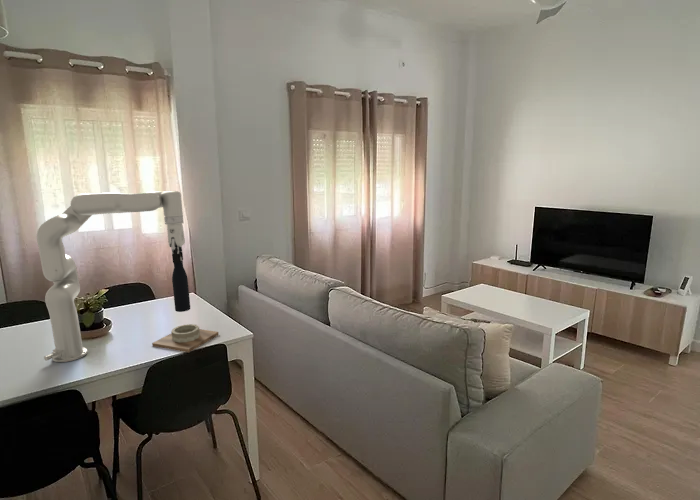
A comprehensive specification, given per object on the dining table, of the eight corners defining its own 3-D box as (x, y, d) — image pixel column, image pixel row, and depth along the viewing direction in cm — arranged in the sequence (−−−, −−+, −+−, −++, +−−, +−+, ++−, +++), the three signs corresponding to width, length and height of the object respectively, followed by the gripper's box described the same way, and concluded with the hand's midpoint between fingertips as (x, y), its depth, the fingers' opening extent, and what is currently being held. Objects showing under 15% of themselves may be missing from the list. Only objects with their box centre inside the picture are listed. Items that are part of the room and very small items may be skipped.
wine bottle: (187, 311, 191) (180, 245, 185) (172, 312, 191) (165, 245, 185) (192, 307, 198) (186, 242, 191) (178, 307, 198) (172, 242, 192)
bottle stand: (188, 352, 185) (187, 340, 184) (152, 346, 192) (151, 334, 191) (218, 334, 203) (217, 323, 202) (184, 329, 210) (183, 319, 209)
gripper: (178, 222, 179) (183, 265, 183) (187, 217, 195) (190, 257, 199) (159, 223, 178) (164, 266, 181) (169, 218, 194) (173, 258, 198)
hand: (178, 261), depth 190 cm, fingers closed on wine bottle, 3 cm apart
